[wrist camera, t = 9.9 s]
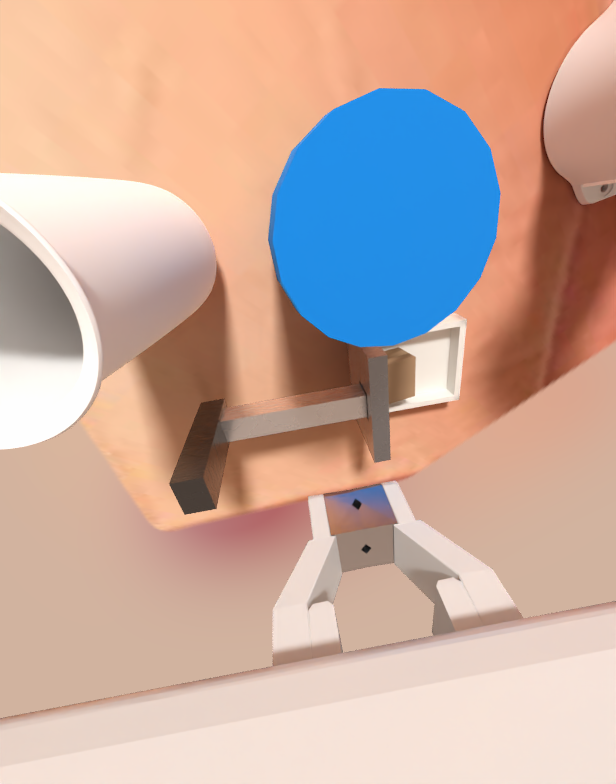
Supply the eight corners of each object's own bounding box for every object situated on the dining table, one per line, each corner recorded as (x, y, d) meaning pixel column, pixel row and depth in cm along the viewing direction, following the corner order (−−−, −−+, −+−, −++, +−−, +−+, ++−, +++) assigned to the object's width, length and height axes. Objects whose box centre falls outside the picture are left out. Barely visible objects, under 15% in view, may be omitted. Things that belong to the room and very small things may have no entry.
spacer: (398, 347, 44) (415, 356, 40) (398, 384, 46) (415, 395, 43) (365, 356, 43) (380, 367, 39) (367, 393, 45) (382, 406, 42)
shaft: (356, 374, 40) (393, 442, 28) (358, 401, 42) (394, 476, 30) (201, 402, 40) (169, 483, 28) (210, 428, 42) (184, 514, 30)
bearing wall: (360, 322, 42) (387, 355, 32) (366, 410, 49) (390, 459, 39) (345, 325, 42) (368, 358, 32) (353, 412, 49) (374, 462, 39)
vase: (88, 179, 32) (-499, 52, 8) (219, 194, 34) (78, 127, 9) (113, 307, 38) (-171, 464, 14) (223, 314, 40) (144, 465, 15)
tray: (455, 313, 43) (466, 319, 40) (449, 389, 49) (459, 399, 46) (360, 329, 43) (366, 337, 40) (366, 404, 48) (371, 415, 46)
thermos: (300, 146, 33) (356, -1, 11) (383, 206, 36) (554, 186, 14) (255, 248, 37) (229, 290, 15) (333, 293, 40) (405, 382, 18)
